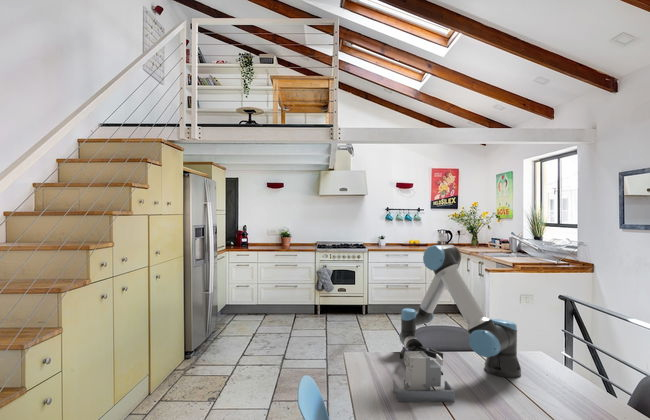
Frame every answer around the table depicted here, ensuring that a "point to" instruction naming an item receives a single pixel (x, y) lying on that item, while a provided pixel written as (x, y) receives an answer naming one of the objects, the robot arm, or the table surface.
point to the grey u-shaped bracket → (424, 394)
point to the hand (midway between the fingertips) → (426, 362)
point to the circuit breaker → (421, 371)
